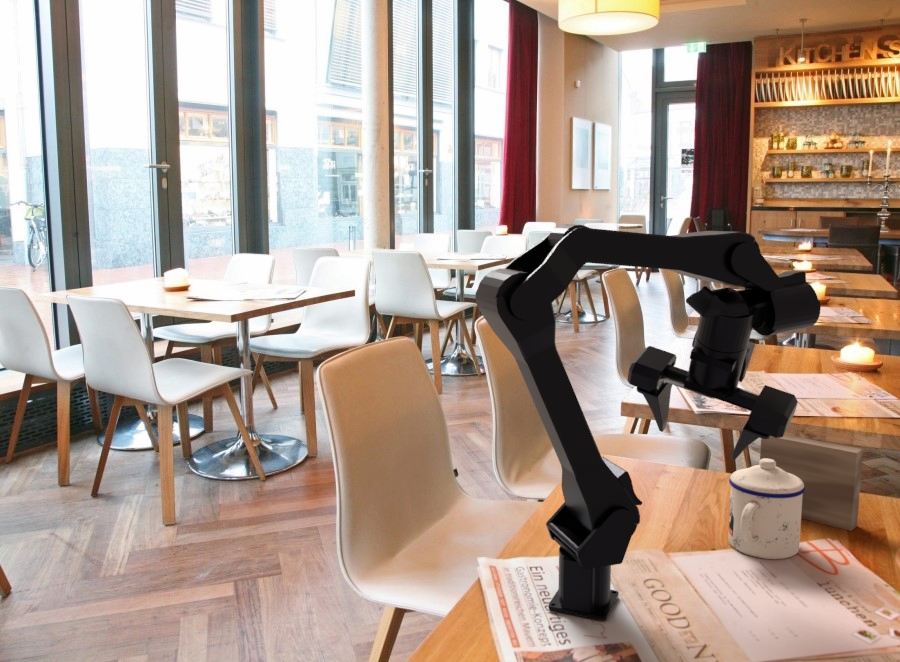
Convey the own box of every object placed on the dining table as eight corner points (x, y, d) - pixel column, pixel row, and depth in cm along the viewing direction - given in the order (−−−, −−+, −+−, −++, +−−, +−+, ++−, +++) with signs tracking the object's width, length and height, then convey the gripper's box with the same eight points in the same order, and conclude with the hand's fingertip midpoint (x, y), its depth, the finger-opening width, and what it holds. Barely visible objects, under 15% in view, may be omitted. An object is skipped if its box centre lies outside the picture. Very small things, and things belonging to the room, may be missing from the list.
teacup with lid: (741, 527, 110) (745, 445, 109) (810, 544, 105) (815, 458, 103) (706, 555, 101) (710, 467, 99) (780, 576, 95) (785, 482, 94)
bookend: (851, 530, 109) (856, 453, 107) (757, 506, 118) (761, 434, 116) (857, 525, 110) (862, 449, 109) (764, 502, 119) (768, 431, 118)
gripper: (824, 333, 92) (791, 436, 100) (669, 286, 101) (651, 385, 109) (799, 380, 84) (766, 488, 93) (634, 325, 93) (617, 429, 101)
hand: (697, 443), depth 99 cm, fingers open, 9 cm apart
